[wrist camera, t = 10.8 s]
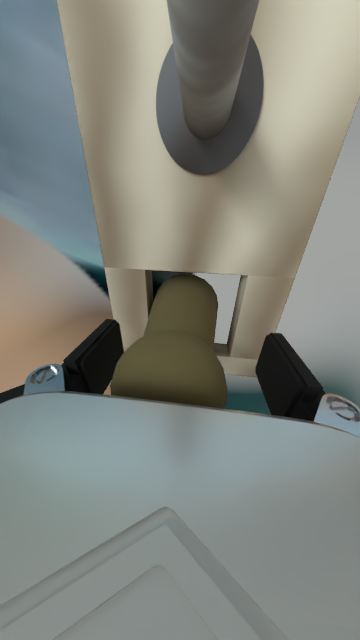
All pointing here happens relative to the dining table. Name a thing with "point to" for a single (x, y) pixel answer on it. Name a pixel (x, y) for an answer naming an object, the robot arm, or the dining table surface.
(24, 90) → the dining table surface
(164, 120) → the beige panel with knob
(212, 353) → the olive rounded piece
